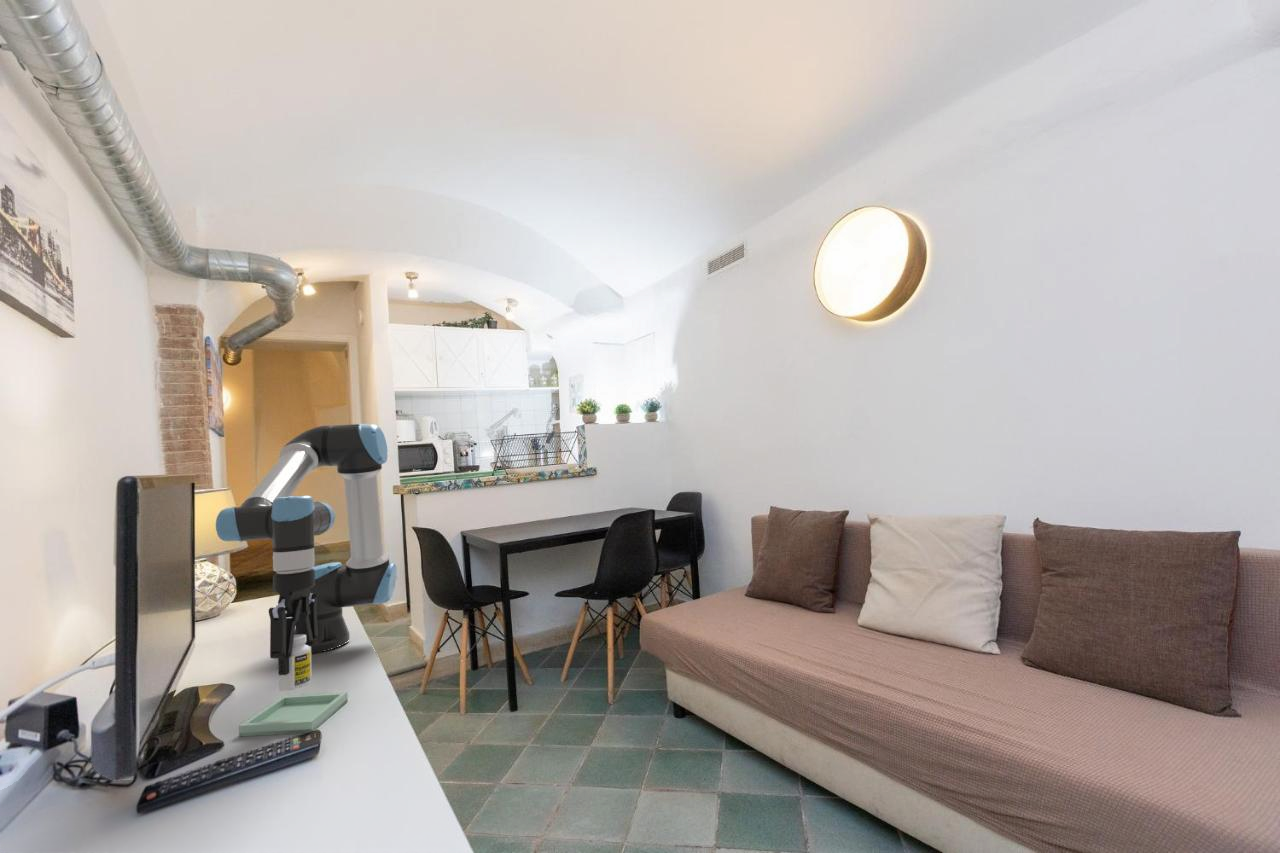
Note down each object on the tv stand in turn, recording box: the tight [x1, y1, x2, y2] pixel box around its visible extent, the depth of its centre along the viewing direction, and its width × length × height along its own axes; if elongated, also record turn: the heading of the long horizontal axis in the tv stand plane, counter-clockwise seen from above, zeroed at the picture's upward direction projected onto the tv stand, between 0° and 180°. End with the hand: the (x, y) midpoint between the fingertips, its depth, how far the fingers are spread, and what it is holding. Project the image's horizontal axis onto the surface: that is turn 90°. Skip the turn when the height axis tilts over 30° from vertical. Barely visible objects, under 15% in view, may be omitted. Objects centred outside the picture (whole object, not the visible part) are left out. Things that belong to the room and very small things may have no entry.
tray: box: [238, 692, 349, 738], centre depth 118 cm, size 14×14×2 cm
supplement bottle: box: [291, 634, 311, 690], centre depth 118 cm, size 5×5×10 cm
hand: (295, 683), depth 118 cm, fingers closed on supplement bottle, 5 cm apart
